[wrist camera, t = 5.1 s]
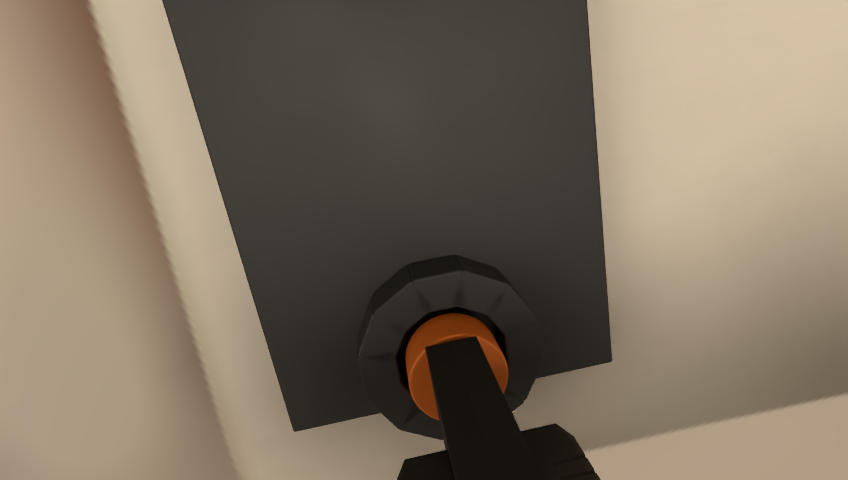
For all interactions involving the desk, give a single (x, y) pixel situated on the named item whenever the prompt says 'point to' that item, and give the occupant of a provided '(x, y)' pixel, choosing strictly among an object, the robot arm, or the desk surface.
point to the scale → (404, 185)
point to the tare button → (441, 332)
